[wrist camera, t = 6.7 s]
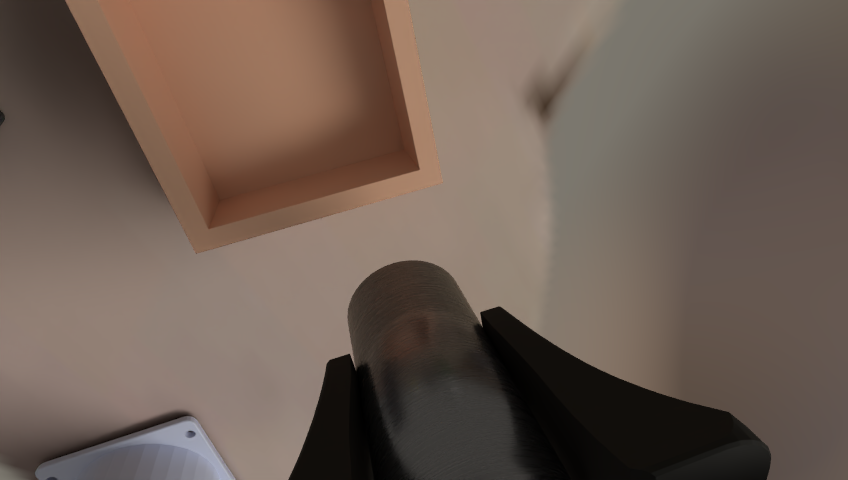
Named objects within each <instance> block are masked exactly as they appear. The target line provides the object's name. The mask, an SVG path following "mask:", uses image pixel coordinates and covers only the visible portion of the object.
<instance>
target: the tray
mask: <svg viewBox="0 0 848 480" xmlns="http://www.w3.org/2000/svg"><path fill="white" fill-rule="evenodd" d="M65 1H66V3H67V5H68V7H69V9H70V11H71V13H72V14H73V16H74V18H75V20H76V22H77V24H78V26H79V28H80V30H81V32H82V34H83V36H84V38H85V40H86V42H87V44H88V45H89V47H90V49H91V51H92V53H93V55H94V57H95V59H96V61H97V63H98V65H99V67H100V69H101V71H102V73H103V75H104V76H105V78H106V80H107V82H108V84H109V86H110V88H111V90H112V92H113V94H114V96H115V98H116V100H117V102H118V104H119V105H120V107H121V109H122V111H123V113H124V115H125V117H126V119H127V121H128V123H129V125H130V127H131V129H132V131H133V133H134V135H135V136H136V138H137V140H138V142H139V144H140V146H141V148H142V150H143V152H144V154H145V156H146V158H147V160H148V162H149V164H150V166H151V167H152V169H153V171H154V173H155V175H156V177H157V179H158V181H159V183H160V185H161V187H162V189H163V191H164V193H165V195H166V196H167V198H168V200H169V202H170V204H171V206H172V208H173V210H174V212H175V214H176V216H177V218H178V220H179V222H180V224H181V226H182V227H183V229H184V231H185V233H186V235H187V237H188V239H189V241H190V243H191V245H192V247H193V249H194V251H195V253H196V254H197V253H200V252H204V251H207V250H211V249H214V248H218V247H221V246H225V245H228V244H232V243H235V242H239V241H242V240H246V239H249V238H253V237H256V236H260V235H263V234H267V233H270V232H274V231H277V230H281V229H284V228H288V227H291V226H295V225H298V224H302V223H305V222H309V221H312V220H316V219H319V218H323V217H326V216H329V215H333V214H336V213H340V212H343V211H347V210H350V209H354V208H357V207H361V206H364V205H368V204H371V203H375V202H378V201H382V200H385V199H389V198H392V197H396V196H399V195H403V194H406V193H410V192H413V191H417V190H420V189H424V188H427V187H431V186H434V185H438V184H441V183H443V181H442V176H441V171H440V165H439V160H438V155H437V150H436V145H435V139H434V134H433V129H432V124H431V118H430V113H429V108H428V103H427V98H426V92H425V87H424V82H423V77H422V71H421V66H420V61H419V56H418V50H417V45H416V40H415V35H414V30H413V24H412V19H411V14H410V9H409V3H408V0H65Z"/></svg>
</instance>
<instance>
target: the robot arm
mask: <svg viewBox="0 0 848 480" xmlns="http://www.w3.org/2000/svg"><path fill="white" fill-rule="evenodd" d="M480 314H481V320H482V326H483V329H484V331H485V332H486V334H487V336H488V338H489V339H490V341H491V343H492V344H493V346H494V348H495V350H496V351H497V353H498V355H499V356H500V358H501V360H502V361H503V363H504V365H505V367H506V368H507V370H508V372H509V373H510V375H511V377H512V379H513V380H514V382H515V384H516V385H517V387H518V389H519V391H520V392H521V394H522V396H523V397H524V399H525V401H526V402H527V404H528V406H529V408H530V409H531V411H532V413H533V414H534V416H535V418H536V420H537V421H538V423H539V425H540V426H541V428H542V430H543V432H544V433H545V435H546V437H547V438H548V440H549V442H550V444H551V445H552V447H553V449H554V450H555V452H556V454H557V455H558V457H559V459H560V461H561V462H562V464H563V466H564V467H565V469H566V471H567V473H568V474H569V476H570V478H571V479H572V480H766V479H767V476H768V472H769V469H770V461H771V454H770V451H769V448H768V446H767V445H766V444H765V443H763V442H762V441H761V440H760V439H759V438H758V437H757V436H756V435H755V434H754V433H753V432H752V431H751V430H750V429H749V428H748V427H746V426H745V425H744V424H743V423H741V422H740V421H739V420H738V419H737V418H735V417H734V416H733V415H731V414H730V413H729V412H726V411H722V410H718V409H714V408H710V407H705V406H701V405H697V404H693V403H689V402H686V401H682V400H679V399H676V398H672V397H669V396H666V395H662V394H659V393H656V392H654V391H651V390H648V389H645V388H642V387H640V386H637V385H634V384H632V383H629V382H627V381H624V380H622V379H619V378H617V377H614V376H612V375H610V374H608V373H606V372H603V371H601V370H599V369H597V368H595V367H593V366H591V365H589V364H587V363H585V362H583V361H581V360H580V359H578V358H576V357H574V356H573V355H571V354H569V353H567V352H565V351H564V350H562V349H561V348H559V347H557V346H556V345H554V344H552V343H551V342H549V341H548V340H546V339H545V338H543V337H542V336H540V335H539V334H537V333H536V332H534V331H533V330H531V329H530V328H529V327H527V326H526V325H524V324H523V323H522V322H520V321H519V320H518V319H516V318H515V317H514V316H512V315H511V314H510V313H508V312H507V311H506V310H504V309H503V308H501V307H495V308H492V309H489V310H486V311H483V312H480ZM188 431H194V432H188ZM35 476H36V477H37V478H38V479H39V480H236V479H235V478H234V476H233V475H232V473H231V472H230V470H229V468H228V467H227V465H226V464H225V462H224V461H223V459H222V458H221V456H220V455H219V453H218V452H217V450H216V449H215V447H214V445H213V444H212V442H211V441H210V439H209V438H208V436H207V435H206V433H205V432H204V430H203V429H202V427H201V425H200V424H199V422H198V421H197V420H196V419H195V418H194V417H191V416H185V417H181V418H178V419H175V420H172V421H169V422H166V423H163V424H160V425H157V426H154V427H151V428H148V429H145V430H142V431H138V432H135V433H132V434H129V435H126V436H123V437H120V438H117V439H114V440H111V441H108V442H105V443H102V444H99V445H96V446H93V447H90V448H87V449H84V450H81V451H78V452H75V453H71V454H68V455H65V456H62V457H59V458H56V459H53V460H50V461H47V462H44V463H42V464H40V465H39V466H38V468H37V470H36V471H35ZM289 480H374V476H373V470H372V464H371V458H370V452H369V446H368V440H367V434H366V428H365V422H364V416H363V410H362V404H361V397H360V391H359V385H358V379H357V373H356V370H355V367H354V364H353V361H352V359H351V356H350V354H347V355H344V356H341V357H338V358H335V359H332V360H329V362H328V363H327V366H326V372H325V377H324V381H323V386H322V390H321V393H320V397H319V401H318V404H317V407H316V411H315V414H314V417H313V420H312V423H311V426H310V429H309V432H308V434H307V437H306V440H305V442H304V445H303V448H302V450H301V453H300V455H299V457H298V460H297V462H296V464H295V467H294V469H293V471H292V473H291V475H290V477H289Z"/></svg>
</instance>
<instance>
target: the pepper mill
mask: <svg viewBox="0 0 848 480" xmlns="http://www.w3.org/2000/svg"><path fill="white" fill-rule="evenodd" d="M347 317H348V326H349V332H350V338H351V344H352V350H353V356H354V362H355V368H356V373H357V379H358V385H359V391H360V397H361V404H362V410H363V416H364V422H365V428H366V434H367V440H368V446H369V452H370V458H371V464H372V470H373V476H374V480H572V479H571V478H570V476H569V474H568V473H567V471H566V469H565V467H564V466H563V464H562V462H561V461H560V459H559V457H558V455H557V454H556V452H555V450H554V449H553V447H552V445H551V444H550V442H549V440H548V438H547V437H546V435H545V433H544V432H543V430H542V428H541V426H540V425H539V423H538V421H537V420H536V418H535V416H534V414H533V413H532V411H531V409H530V408H529V406H528V404H527V402H526V401H525V399H524V397H523V396H522V394H521V392H520V391H519V389H518V387H517V385H516V384H515V382H514V380H513V379H512V377H511V375H510V373H509V372H508V370H507V368H506V367H505V365H504V363H503V361H502V360H501V358H500V356H499V355H498V353H497V351H496V350H495V348H494V346H493V344H492V343H491V341H490V339H489V338H488V336H487V334H486V332H485V331H484V329H483V327H482V326H481V324H480V322H479V320H478V319H477V317H476V315H475V314H474V312H473V310H472V309H471V307H470V305H469V303H468V302H467V300H466V298H465V297H464V295H463V293H462V291H461V290H460V288H459V286H458V285H457V283H456V281H455V280H454V278H453V277H452V276H451V275H450V274H449V273H448V272H447V271H445V270H444V269H442V268H441V267H439V266H437V265H435V264H432V263H428V262H424V261H401V262H397V263H393V264H390V265H387V266H385V267H383V268H381V269H379V270H377V271H376V272H374V273H372V274H371V275H370V276H369V277H367V278H366V279H365V280H364V281H363V282H362V283H361V284H360V285H359V287H358V288H357V289H356V291H355V293H354V294H353V296H352V298H351V301H350V303H349V308H348V316H347Z"/></svg>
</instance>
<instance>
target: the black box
mask: <svg viewBox="0 0 848 480" xmlns="http://www.w3.org/2000/svg"><path fill="white" fill-rule="evenodd" d="M4 119H5V116H4V114H3V113H2V112H1V111H0V125H1V124H2V122H3V121H4Z"/></svg>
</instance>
